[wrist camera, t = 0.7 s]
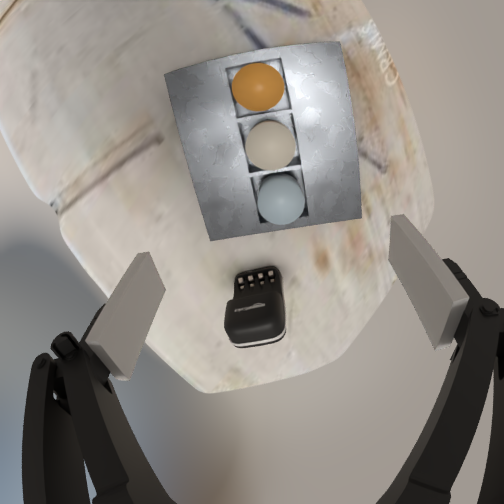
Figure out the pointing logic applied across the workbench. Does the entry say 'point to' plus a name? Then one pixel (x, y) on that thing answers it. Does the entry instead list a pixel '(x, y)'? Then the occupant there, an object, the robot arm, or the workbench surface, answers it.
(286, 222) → the pale blue button
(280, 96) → the orange button
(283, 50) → the panel
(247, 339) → the battery charger
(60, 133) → the workbench surface
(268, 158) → the ivory button
